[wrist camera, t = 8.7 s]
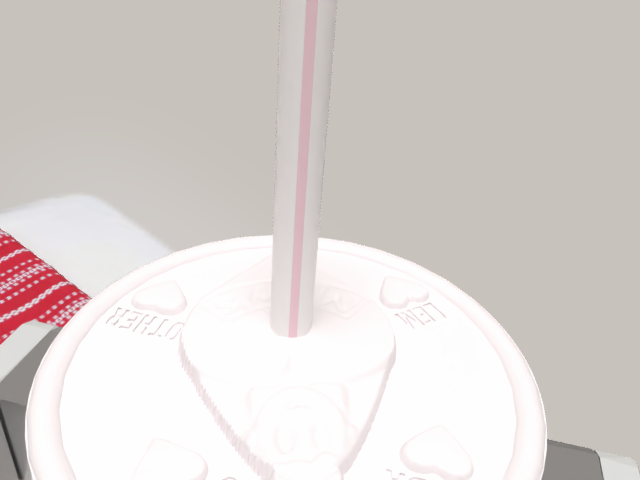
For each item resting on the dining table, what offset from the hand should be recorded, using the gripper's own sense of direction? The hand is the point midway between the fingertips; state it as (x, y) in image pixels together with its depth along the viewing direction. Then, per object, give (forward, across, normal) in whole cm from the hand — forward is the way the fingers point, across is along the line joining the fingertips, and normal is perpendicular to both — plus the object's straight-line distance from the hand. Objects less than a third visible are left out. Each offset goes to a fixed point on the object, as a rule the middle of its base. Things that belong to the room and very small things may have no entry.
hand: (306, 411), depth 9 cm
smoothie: (-1, 0, +8) cm, 8 cm away
